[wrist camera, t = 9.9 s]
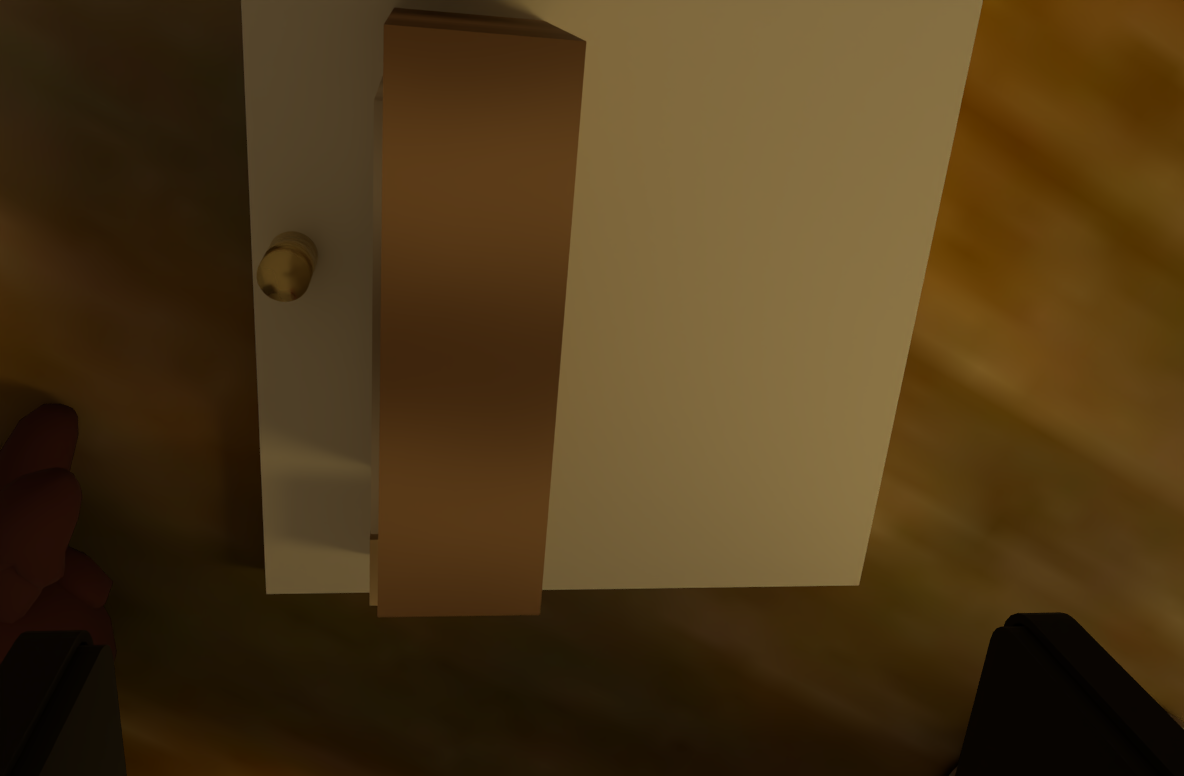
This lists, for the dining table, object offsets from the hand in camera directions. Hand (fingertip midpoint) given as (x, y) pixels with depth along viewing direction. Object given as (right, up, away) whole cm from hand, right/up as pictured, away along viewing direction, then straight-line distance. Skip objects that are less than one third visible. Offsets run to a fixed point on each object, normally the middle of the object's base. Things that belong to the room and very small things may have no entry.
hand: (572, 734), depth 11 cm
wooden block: (-3, +7, +15) cm, 17 cm away
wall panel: (0, +7, +17) cm, 19 cm away
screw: (-7, +7, +15) cm, 18 cm away
